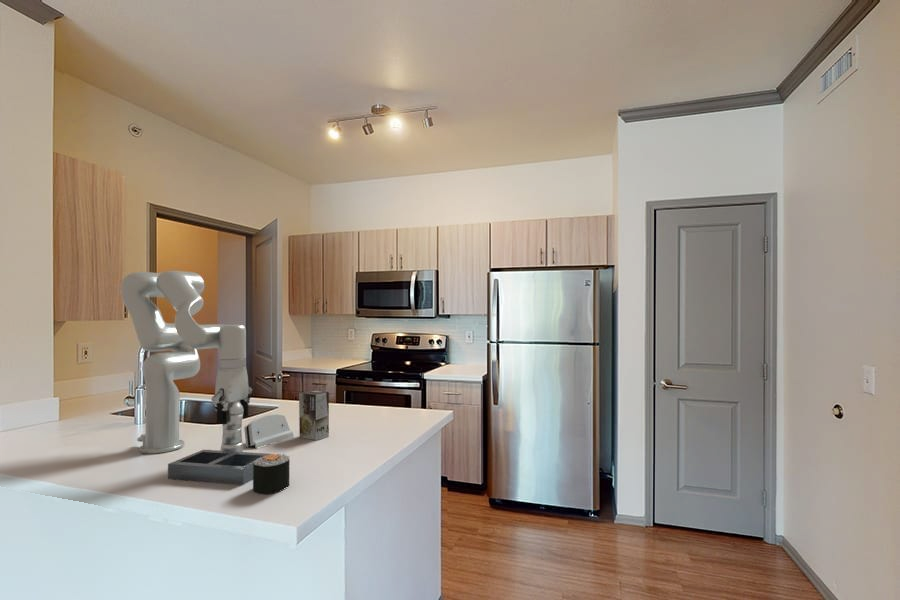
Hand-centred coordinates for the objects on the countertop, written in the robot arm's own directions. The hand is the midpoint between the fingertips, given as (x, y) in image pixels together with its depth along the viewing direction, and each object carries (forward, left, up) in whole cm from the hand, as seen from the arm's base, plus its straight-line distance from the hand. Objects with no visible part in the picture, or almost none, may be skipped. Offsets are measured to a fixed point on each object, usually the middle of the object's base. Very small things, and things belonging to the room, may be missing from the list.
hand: (233, 420), depth 139 cm
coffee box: (+13, +27, -12) cm, 32 cm away
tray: (+6, -12, -12) cm, 18 cm away
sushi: (+26, -19, -12) cm, 34 cm away
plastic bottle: (0, 0, -12) cm, 12 cm away
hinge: (0, +19, -12) cm, 23 cm away
